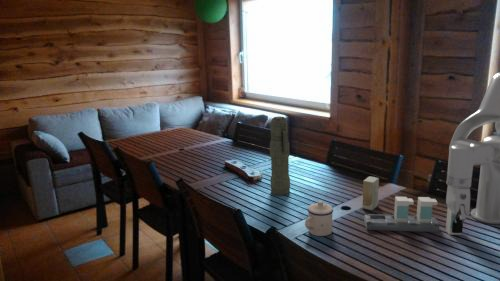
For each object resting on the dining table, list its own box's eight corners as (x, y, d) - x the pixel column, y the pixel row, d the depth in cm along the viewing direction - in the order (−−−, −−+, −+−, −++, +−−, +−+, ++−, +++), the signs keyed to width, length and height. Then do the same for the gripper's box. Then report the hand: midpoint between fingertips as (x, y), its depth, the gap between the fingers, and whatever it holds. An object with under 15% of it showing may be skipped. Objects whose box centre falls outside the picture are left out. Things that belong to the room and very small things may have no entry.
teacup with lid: (319, 223, 154) (319, 194, 151) (338, 231, 147) (338, 201, 144) (296, 233, 147) (296, 203, 144) (315, 242, 140) (315, 211, 137)
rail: (433, 223, 150) (433, 215, 149) (439, 232, 143) (439, 224, 142) (364, 221, 154) (364, 214, 153) (366, 229, 147) (366, 222, 146)
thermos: (280, 198, 178) (279, 121, 169) (265, 190, 188) (263, 117, 179) (296, 193, 183) (295, 118, 174) (280, 186, 192) (278, 114, 183)
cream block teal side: (432, 220, 148) (434, 197, 146) (436, 226, 143) (438, 202, 141) (416, 219, 149) (417, 197, 147) (419, 225, 144) (421, 202, 142)
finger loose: (462, 229, 144) (465, 206, 142) (467, 236, 140) (470, 212, 137) (445, 229, 145) (447, 206, 143) (450, 235, 141) (452, 211, 138)
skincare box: (368, 203, 170) (369, 175, 167) (378, 205, 167) (379, 177, 164) (361, 208, 165) (362, 180, 162) (372, 210, 162) (373, 182, 159)
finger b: (410, 219, 149) (411, 196, 147) (413, 225, 145) (414, 202, 142) (393, 218, 150) (395, 196, 148) (396, 224, 146) (397, 201, 143)
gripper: (480, 190, 129) (474, 241, 133) (461, 172, 145) (457, 218, 150) (455, 189, 130) (450, 240, 135) (439, 172, 146) (435, 218, 151)
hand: (454, 228), depth 142 cm, fingers closed on finger loose, 4 cm apart
